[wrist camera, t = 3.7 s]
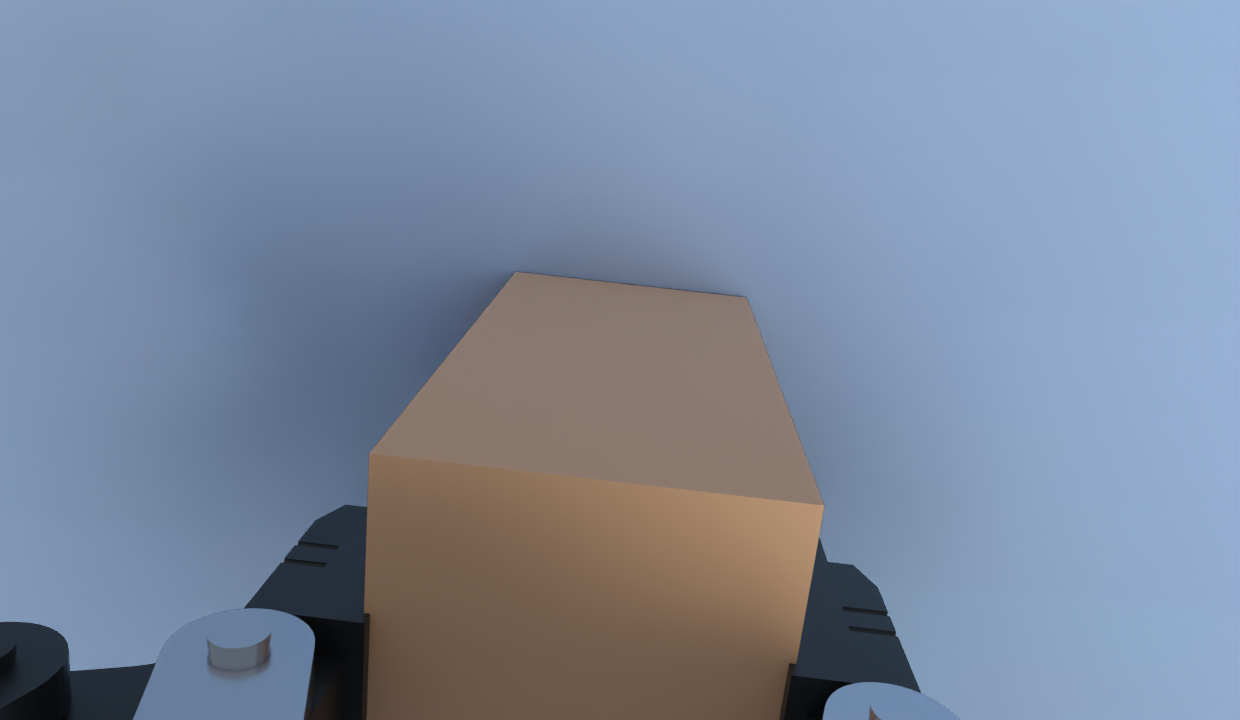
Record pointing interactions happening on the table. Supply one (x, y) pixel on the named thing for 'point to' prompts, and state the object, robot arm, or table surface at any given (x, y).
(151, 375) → the table surface
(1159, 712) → the table surface
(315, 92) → the table surface
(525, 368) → the wooden staple shape
